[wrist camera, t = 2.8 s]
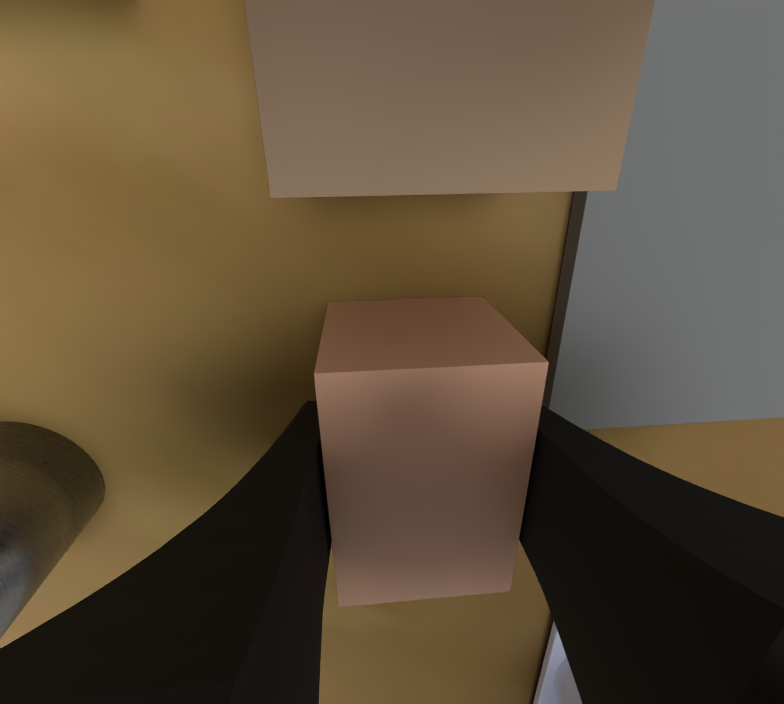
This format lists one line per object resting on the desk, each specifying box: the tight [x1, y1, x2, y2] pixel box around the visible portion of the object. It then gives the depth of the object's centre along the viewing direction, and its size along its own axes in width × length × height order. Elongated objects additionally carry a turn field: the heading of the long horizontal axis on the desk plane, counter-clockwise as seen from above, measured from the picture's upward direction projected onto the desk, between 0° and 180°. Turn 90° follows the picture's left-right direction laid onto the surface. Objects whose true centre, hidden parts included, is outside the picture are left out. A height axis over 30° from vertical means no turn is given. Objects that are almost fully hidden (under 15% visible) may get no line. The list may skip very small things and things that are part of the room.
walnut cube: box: [244, 0, 655, 198], centre depth 6 cm, size 4×4×4 cm
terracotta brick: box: [314, 296, 549, 607], centre depth 10 cm, size 6×4×4 cm, turn 1°
